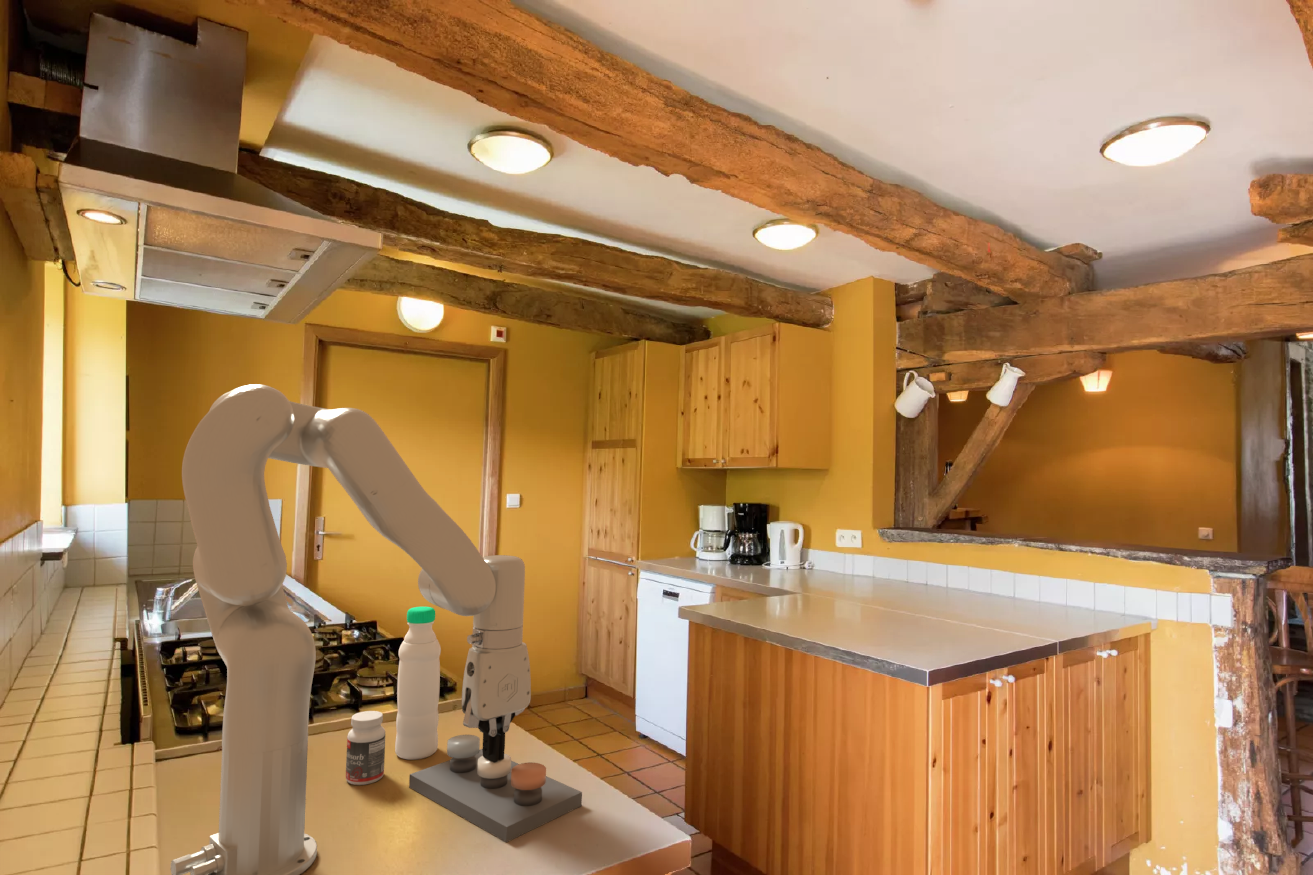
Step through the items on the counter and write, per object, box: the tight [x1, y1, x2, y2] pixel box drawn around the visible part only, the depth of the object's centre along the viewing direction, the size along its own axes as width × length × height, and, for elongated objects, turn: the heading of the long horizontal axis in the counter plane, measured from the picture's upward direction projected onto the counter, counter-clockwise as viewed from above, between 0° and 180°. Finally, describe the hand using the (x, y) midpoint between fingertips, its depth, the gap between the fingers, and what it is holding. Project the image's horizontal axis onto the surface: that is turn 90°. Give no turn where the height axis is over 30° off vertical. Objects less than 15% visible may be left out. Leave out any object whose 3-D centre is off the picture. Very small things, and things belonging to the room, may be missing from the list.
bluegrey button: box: [446, 734, 481, 758], centre depth 115 cm, size 5×5×2 cm
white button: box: [477, 753, 512, 779], centre depth 110 cm, size 5×5×2 cm
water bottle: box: [394, 606, 442, 761], centre depth 126 cm, size 7×7×25 cm
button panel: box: [408, 748, 583, 843], centre depth 110 cm, size 14×24×3 cm, turn 50°
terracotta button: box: [511, 762, 547, 790], centre depth 105 cm, size 5×5×2 cm
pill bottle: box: [345, 710, 386, 786], centre depth 115 cm, size 6×6×10 cm
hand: (493, 758), depth 110 cm, fingers closed
